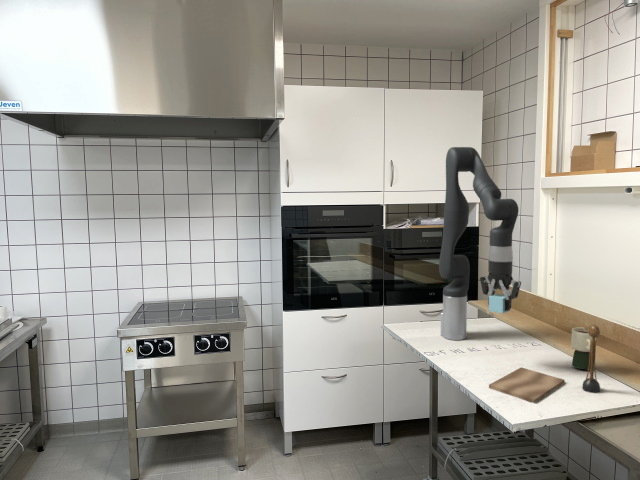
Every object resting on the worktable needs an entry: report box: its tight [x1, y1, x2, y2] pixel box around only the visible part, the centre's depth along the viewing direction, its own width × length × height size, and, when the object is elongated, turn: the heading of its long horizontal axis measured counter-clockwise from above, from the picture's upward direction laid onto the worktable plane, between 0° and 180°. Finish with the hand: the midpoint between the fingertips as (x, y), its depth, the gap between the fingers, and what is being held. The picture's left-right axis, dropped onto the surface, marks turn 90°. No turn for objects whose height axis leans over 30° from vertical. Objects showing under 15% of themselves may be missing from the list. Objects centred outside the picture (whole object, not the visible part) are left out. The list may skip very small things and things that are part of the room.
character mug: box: [570, 326, 597, 371], centre depth 162 cm, size 11×7×13 cm, turn 174°
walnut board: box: [488, 366, 566, 404], centre depth 150 cm, size 14×20×1 cm
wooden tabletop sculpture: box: [581, 323, 601, 394], centre depth 146 cm, size 6×5×20 cm
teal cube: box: [488, 293, 511, 314], centre depth 165 cm, size 5×5×5 cm
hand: (499, 308), depth 165 cm, fingers closed on teal cube, 5 cm apart
